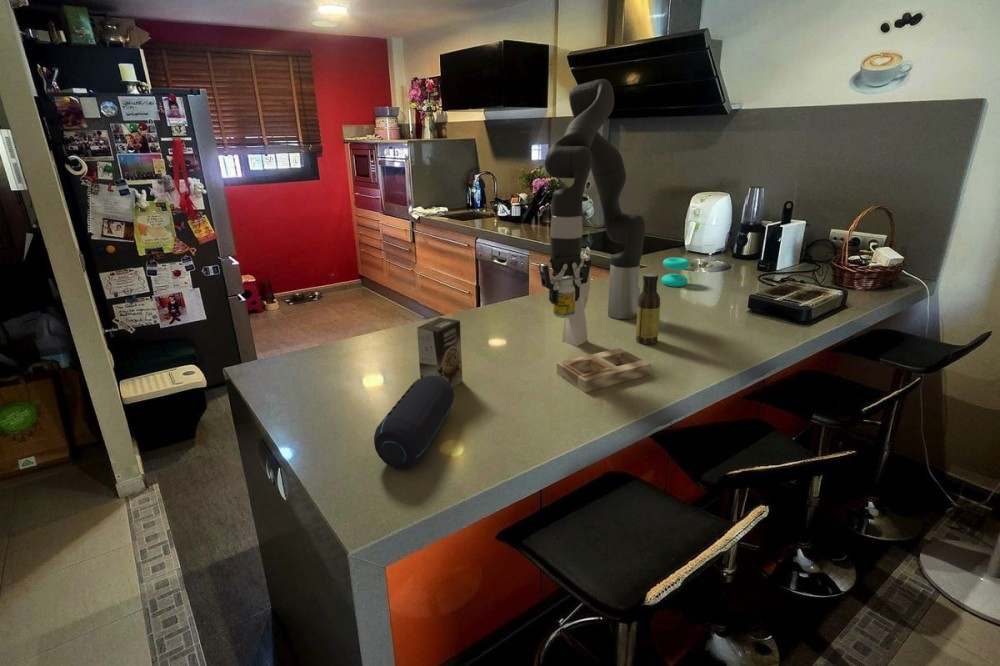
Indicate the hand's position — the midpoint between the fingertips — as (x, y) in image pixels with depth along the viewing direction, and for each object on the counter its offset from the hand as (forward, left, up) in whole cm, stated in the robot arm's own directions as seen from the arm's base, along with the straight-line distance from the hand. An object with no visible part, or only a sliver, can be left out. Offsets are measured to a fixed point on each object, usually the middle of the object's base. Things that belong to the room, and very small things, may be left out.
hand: (564, 301), depth 133 cm
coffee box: (+32, -5, -18) cm, 37 cm away
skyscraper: (-13, -13, -18) cm, 26 cm away
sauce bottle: (-31, -3, -18) cm, 36 cm away
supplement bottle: (0, 0, -4) cm, 4 cm away
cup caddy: (-6, +9, -18) cm, 21 cm away
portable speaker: (+45, +15, -18) cm, 51 cm away
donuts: (-83, -45, -18) cm, 96 cm away
